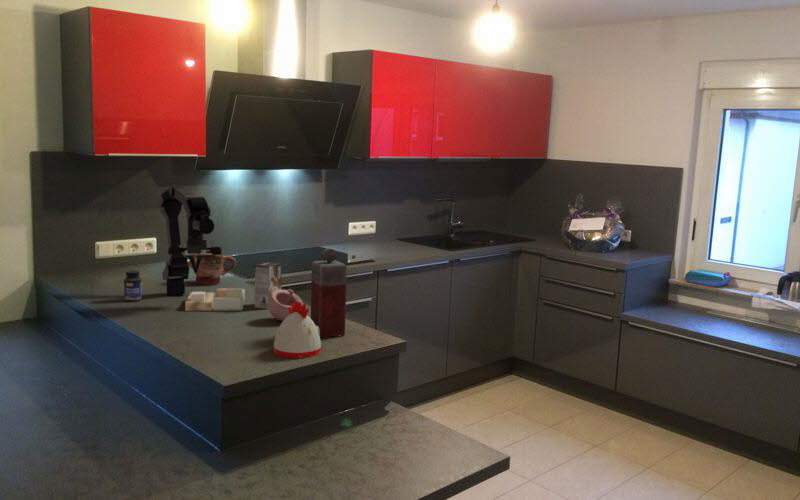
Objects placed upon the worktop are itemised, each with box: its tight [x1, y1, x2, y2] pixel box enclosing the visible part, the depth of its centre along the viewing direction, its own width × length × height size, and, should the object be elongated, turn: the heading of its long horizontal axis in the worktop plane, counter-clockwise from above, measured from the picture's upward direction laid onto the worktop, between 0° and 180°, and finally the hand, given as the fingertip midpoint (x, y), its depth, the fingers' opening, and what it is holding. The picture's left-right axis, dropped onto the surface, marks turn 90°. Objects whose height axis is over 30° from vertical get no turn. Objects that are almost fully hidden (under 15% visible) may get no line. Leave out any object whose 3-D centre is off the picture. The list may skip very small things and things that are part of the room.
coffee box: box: [254, 261, 282, 310], centre depth 255 cm, size 9×6×16 cm
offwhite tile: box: [191, 291, 206, 301], centre depth 248 cm, size 4×4×2 cm
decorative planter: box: [188, 252, 237, 286], centre depth 292 cm, size 20×12×14 cm, turn 105°
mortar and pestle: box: [267, 288, 304, 322], centre depth 235 cm, size 12×12×11 cm
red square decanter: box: [310, 247, 348, 338], centre depth 221 cm, size 9×11×28 cm
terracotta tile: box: [218, 287, 227, 298], centre depth 258 cm, size 4×4×2 cm
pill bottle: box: [123, 270, 142, 302], centre depth 256 cm, size 6×6×11 cm
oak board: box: [184, 291, 216, 312], centre depth 253 cm, size 9×17×3 cm, turn 11°
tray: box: [212, 288, 246, 312], centre depth 255 cm, size 10×17×4 cm, turn 10°
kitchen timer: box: [273, 301, 322, 359], centre depth 200 cm, size 14×14×15 cm
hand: (195, 272), depth 252 cm, fingers closed
